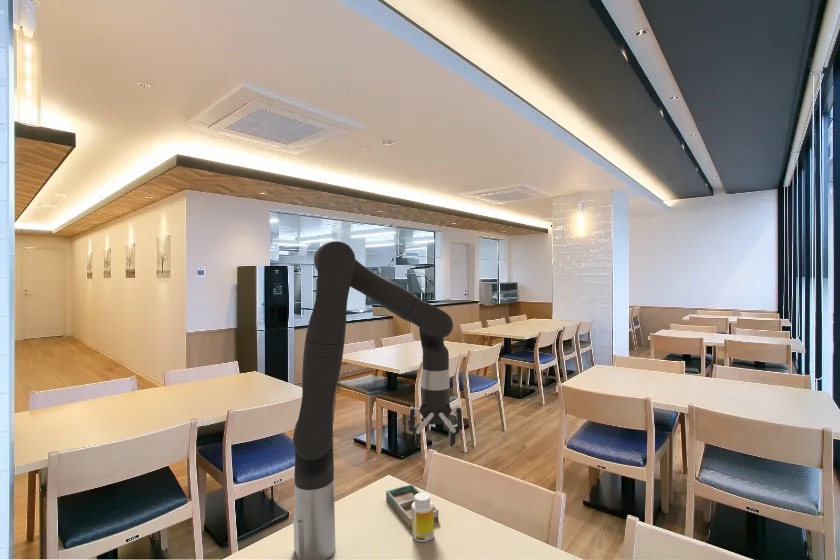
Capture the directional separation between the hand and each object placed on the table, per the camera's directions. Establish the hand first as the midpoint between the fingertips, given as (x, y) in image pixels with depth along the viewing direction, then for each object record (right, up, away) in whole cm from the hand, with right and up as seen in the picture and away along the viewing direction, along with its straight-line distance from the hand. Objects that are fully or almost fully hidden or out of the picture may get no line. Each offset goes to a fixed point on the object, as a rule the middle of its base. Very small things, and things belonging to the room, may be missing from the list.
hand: (435, 446), depth 112 cm
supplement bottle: (-3, -21, -5) cm, 22 cm away
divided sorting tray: (-7, -21, +7) cm, 23 cm away
